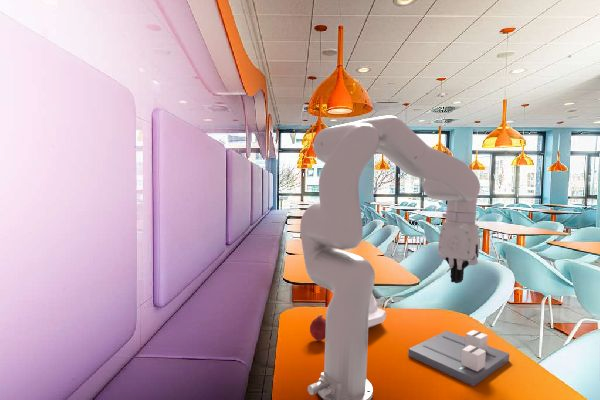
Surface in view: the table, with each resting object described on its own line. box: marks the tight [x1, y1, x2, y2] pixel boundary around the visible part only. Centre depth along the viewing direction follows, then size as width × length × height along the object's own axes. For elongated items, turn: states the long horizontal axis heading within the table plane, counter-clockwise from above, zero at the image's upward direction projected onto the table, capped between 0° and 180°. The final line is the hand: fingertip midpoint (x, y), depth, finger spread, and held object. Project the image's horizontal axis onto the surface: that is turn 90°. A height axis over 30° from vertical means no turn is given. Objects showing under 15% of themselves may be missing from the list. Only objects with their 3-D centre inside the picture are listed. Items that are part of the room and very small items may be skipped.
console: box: [408, 330, 510, 387], centre depth 99 cm, size 20×18×2 cm
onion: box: [309, 313, 326, 342], centre depth 107 cm, size 6×6×8 cm
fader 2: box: [461, 345, 486, 372], centre depth 91 cm, size 4×4×4 cm
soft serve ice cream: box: [368, 292, 387, 329], centre depth 119 cm, size 12×15×14 cm
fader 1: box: [465, 329, 489, 350], centre depth 100 cm, size 4×4×4 cm
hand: (456, 281), depth 104 cm, fingers closed
